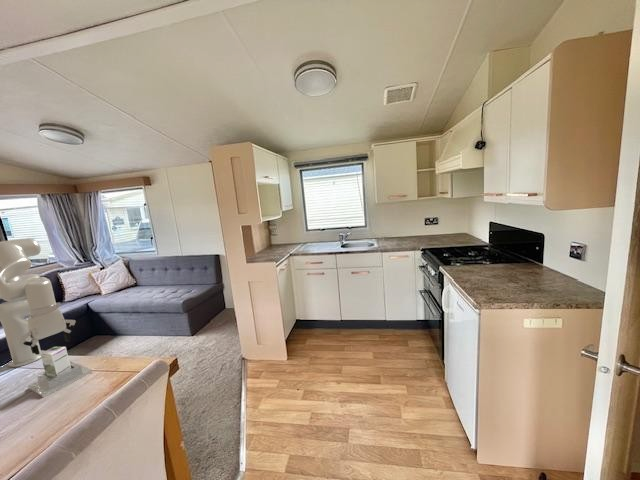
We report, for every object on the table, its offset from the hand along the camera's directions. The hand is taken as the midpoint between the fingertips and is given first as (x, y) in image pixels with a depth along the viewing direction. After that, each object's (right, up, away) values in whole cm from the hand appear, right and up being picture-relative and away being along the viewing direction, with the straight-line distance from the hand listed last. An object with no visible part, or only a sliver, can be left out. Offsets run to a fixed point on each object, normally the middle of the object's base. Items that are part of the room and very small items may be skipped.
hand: (53, 347), depth 108 cm
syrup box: (+1, -15, +2) cm, 16 cm away
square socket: (+2, -15, +2) cm, 15 cm away
